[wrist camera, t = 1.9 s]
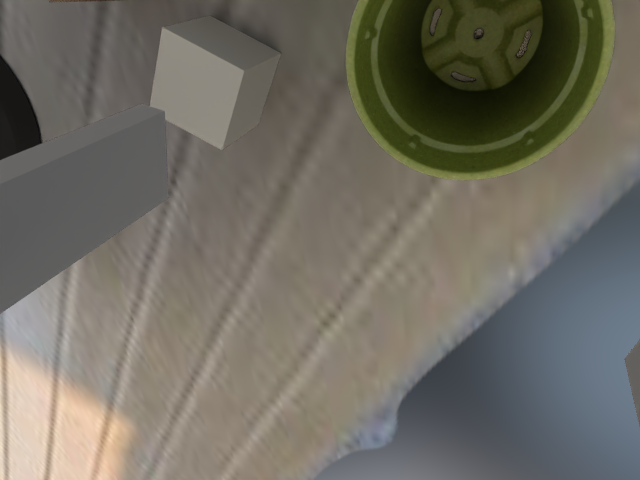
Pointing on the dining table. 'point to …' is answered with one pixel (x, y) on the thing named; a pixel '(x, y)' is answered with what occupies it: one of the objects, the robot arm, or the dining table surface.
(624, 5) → the dining table surface
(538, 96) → the plant pot
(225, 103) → the cream block
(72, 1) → the walnut block
